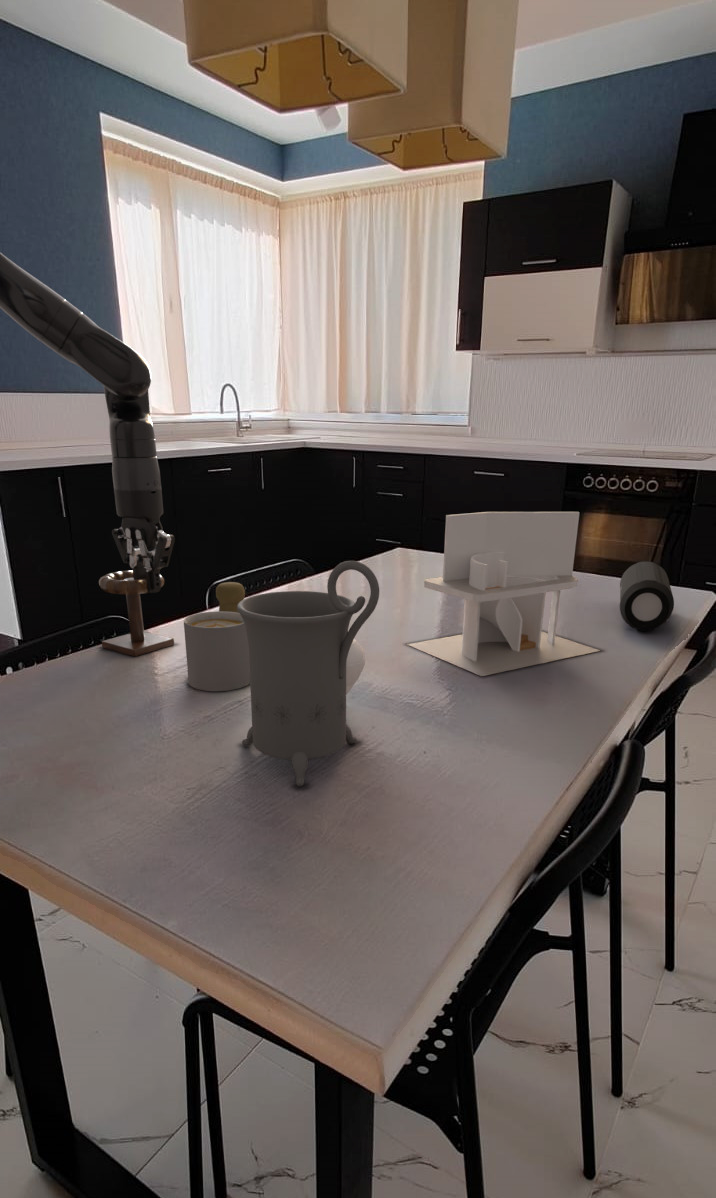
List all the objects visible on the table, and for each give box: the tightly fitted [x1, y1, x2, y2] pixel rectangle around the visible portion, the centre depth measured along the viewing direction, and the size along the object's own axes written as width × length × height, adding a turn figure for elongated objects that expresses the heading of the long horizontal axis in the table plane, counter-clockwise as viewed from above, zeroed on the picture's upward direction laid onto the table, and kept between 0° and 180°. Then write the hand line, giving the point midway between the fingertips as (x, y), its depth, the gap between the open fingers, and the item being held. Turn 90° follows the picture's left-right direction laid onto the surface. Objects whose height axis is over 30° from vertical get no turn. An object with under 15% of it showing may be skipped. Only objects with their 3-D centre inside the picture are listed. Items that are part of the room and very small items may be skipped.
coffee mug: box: [183, 610, 250, 692], centre depth 122 cm, size 13×10×10 cm
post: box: [101, 578, 175, 657], centre depth 137 cm, size 9×9×12 cm
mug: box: [237, 560, 380, 787], centre depth 91 cm, size 19×15×25 cm
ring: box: [98, 569, 165, 595], centre depth 135 cm, size 11×11×2 cm
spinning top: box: [346, 638, 366, 695], centre depth 110 cm, size 8×8×12 cm
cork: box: [215, 581, 246, 613], centre depth 140 cm, size 6×6×11 cm
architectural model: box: [406, 511, 601, 677], centre depth 136 cm, size 28×21×23 cm
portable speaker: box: [619, 560, 675, 632], centre depth 159 cm, size 26×10×10 cm, turn 163°
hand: (148, 590), depth 133 cm, fingers closed on ring, 2 cm apart
